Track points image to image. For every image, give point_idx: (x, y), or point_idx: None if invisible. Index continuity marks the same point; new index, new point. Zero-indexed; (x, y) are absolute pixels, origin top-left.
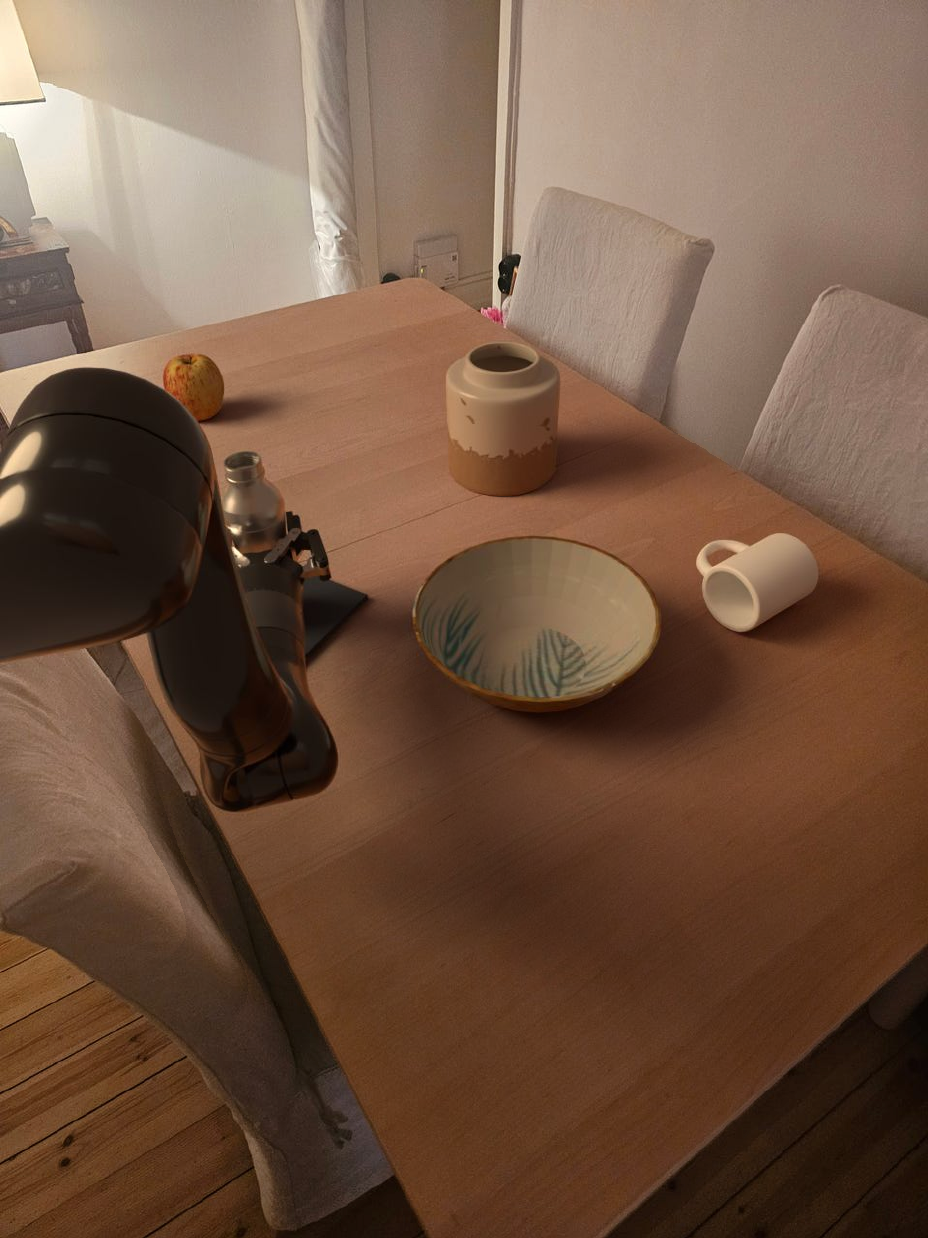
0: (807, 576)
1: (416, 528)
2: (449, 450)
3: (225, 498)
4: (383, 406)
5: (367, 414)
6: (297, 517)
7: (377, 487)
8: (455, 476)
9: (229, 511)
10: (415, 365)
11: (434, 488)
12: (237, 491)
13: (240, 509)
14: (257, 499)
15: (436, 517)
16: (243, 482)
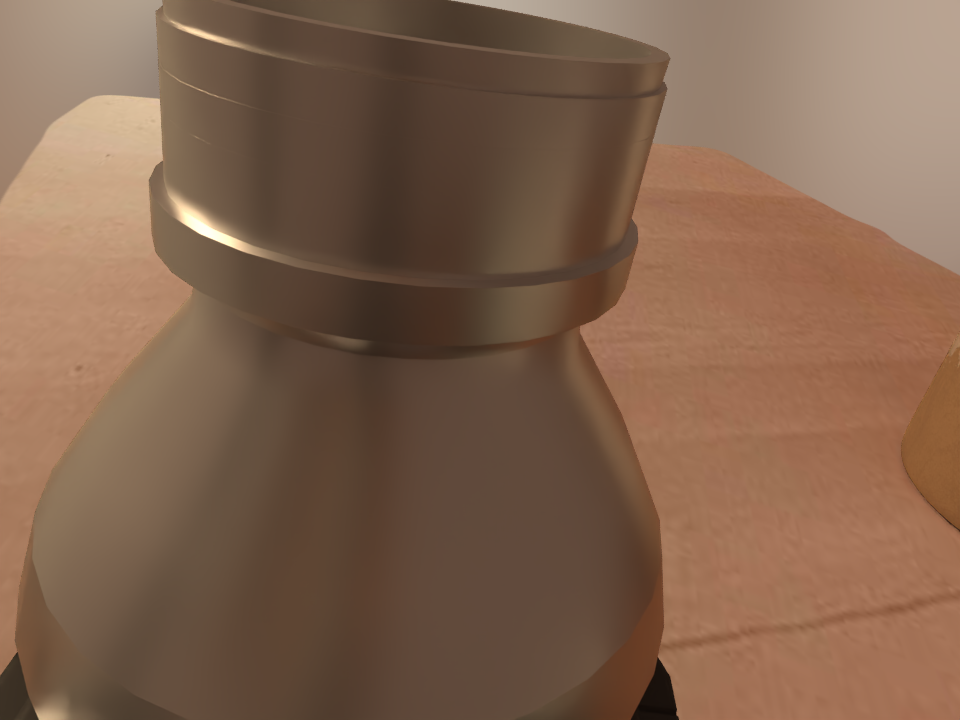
0: None
1: (874, 655)
2: (949, 427)
3: (94, 420)
4: (700, 289)
5: (669, 294)
6: (654, 676)
7: (717, 465)
8: (946, 501)
9: (56, 599)
10: (748, 243)
11: (880, 516)
12: (233, 385)
13: (180, 638)
14: (452, 566)
15: (927, 628)
16: (339, 279)
